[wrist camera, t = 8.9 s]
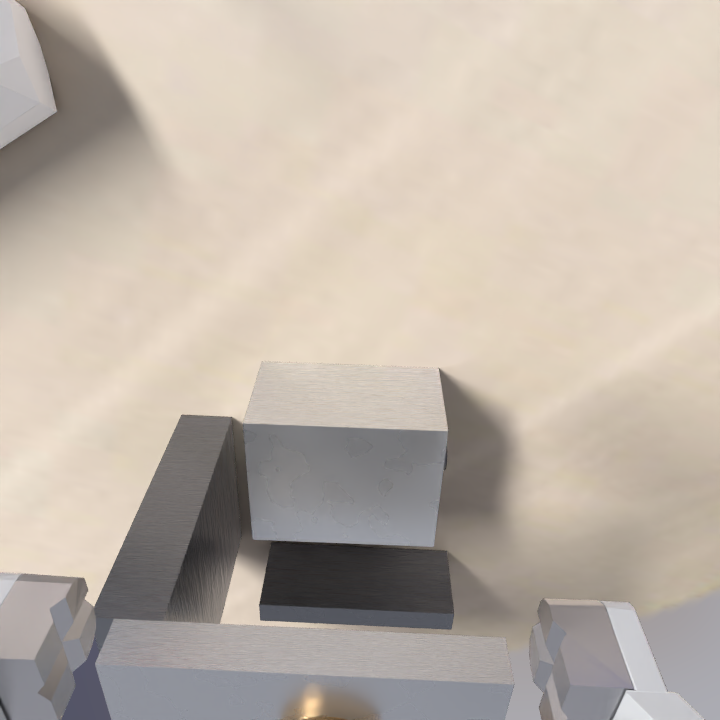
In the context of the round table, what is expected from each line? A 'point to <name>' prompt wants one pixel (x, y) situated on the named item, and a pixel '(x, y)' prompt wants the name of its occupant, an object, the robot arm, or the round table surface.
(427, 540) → the brushed aluminum block
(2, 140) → the crystal
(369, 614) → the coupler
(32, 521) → the round table surface
